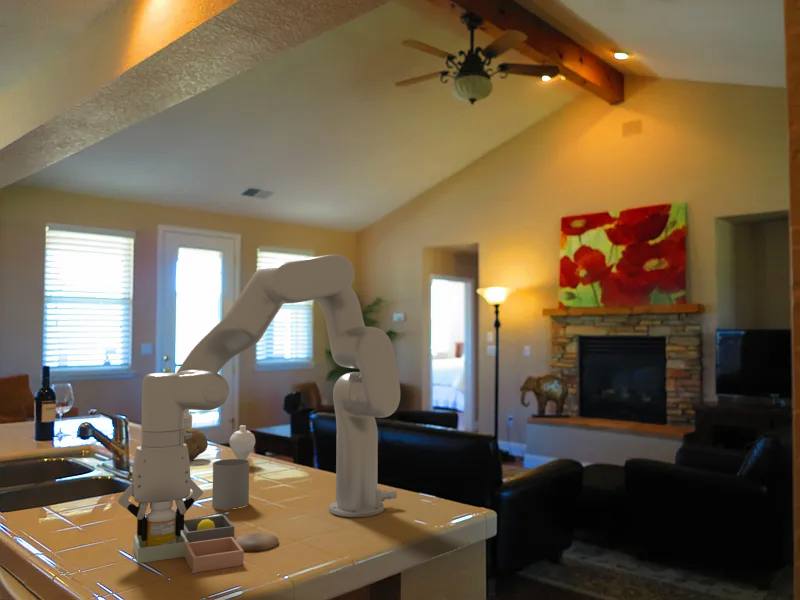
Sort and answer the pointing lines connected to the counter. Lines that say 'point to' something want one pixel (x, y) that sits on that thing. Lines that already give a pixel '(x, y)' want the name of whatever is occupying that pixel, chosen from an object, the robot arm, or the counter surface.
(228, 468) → the cup
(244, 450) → the spinning top
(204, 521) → the light bulb
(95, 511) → the counter surface
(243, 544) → the coaster
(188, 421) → the supplement bottle
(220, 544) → the bin terracotta
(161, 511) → the supplement bottle
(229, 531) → the bin charcoal
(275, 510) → the counter surface
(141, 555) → the bin sage
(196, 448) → the brown potato
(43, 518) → the counter surface
